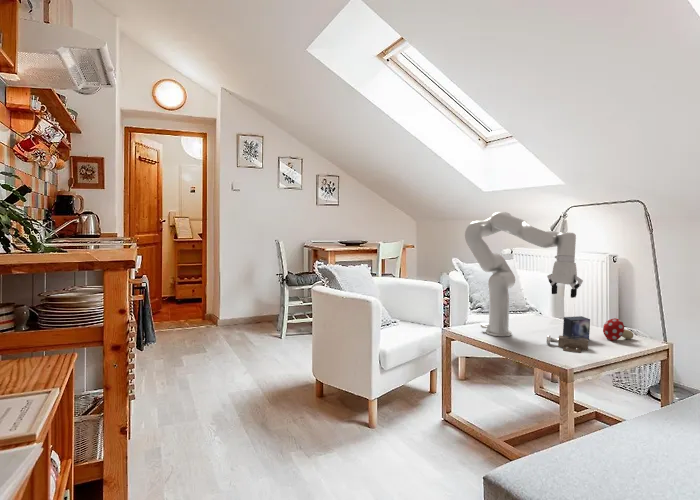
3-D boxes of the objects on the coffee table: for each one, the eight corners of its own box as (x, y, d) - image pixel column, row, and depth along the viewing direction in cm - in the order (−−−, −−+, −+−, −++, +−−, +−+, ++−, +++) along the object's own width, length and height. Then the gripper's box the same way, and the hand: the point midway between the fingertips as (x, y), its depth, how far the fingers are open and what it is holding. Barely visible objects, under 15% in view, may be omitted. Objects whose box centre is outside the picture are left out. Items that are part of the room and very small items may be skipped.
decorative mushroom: (634, 320, 223) (609, 311, 220) (645, 337, 214) (619, 327, 211) (618, 334, 229) (594, 325, 227) (628, 351, 220) (603, 342, 218)
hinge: (556, 349, 204) (557, 340, 204) (560, 341, 217) (560, 332, 217) (586, 353, 198) (587, 343, 198) (588, 345, 211) (589, 336, 210)
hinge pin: (546, 344, 211) (546, 336, 211) (547, 342, 215) (547, 334, 214) (578, 348, 204) (579, 340, 204) (579, 346, 208) (579, 338, 208)
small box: (570, 341, 218) (571, 319, 217) (562, 337, 224) (562, 316, 223) (590, 340, 220) (590, 318, 219) (580, 336, 226) (581, 315, 226)
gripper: (544, 257, 215) (542, 293, 217) (578, 261, 200) (576, 299, 202) (553, 257, 219) (552, 292, 220) (588, 260, 204) (586, 298, 206)
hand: (563, 295), depth 211 cm, fingers open, 9 cm apart
